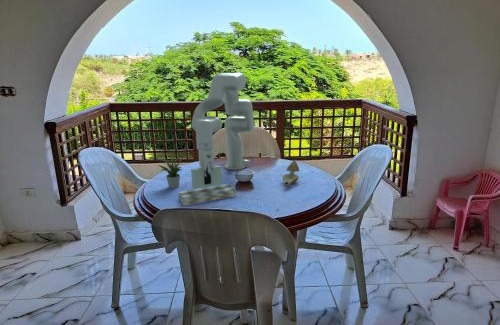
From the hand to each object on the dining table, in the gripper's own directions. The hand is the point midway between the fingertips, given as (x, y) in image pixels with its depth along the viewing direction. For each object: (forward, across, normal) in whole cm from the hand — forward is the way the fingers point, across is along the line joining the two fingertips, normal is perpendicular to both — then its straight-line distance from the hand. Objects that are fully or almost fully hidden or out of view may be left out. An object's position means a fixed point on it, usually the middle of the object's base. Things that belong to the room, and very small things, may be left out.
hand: (207, 182), depth 162 cm
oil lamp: (+8, 0, -46) cm, 47 cm away
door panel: (+2, 0, 0) cm, 2 cm away
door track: (+7, 0, 0) cm, 7 cm away
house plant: (+8, +23, +11) cm, 27 cm away
